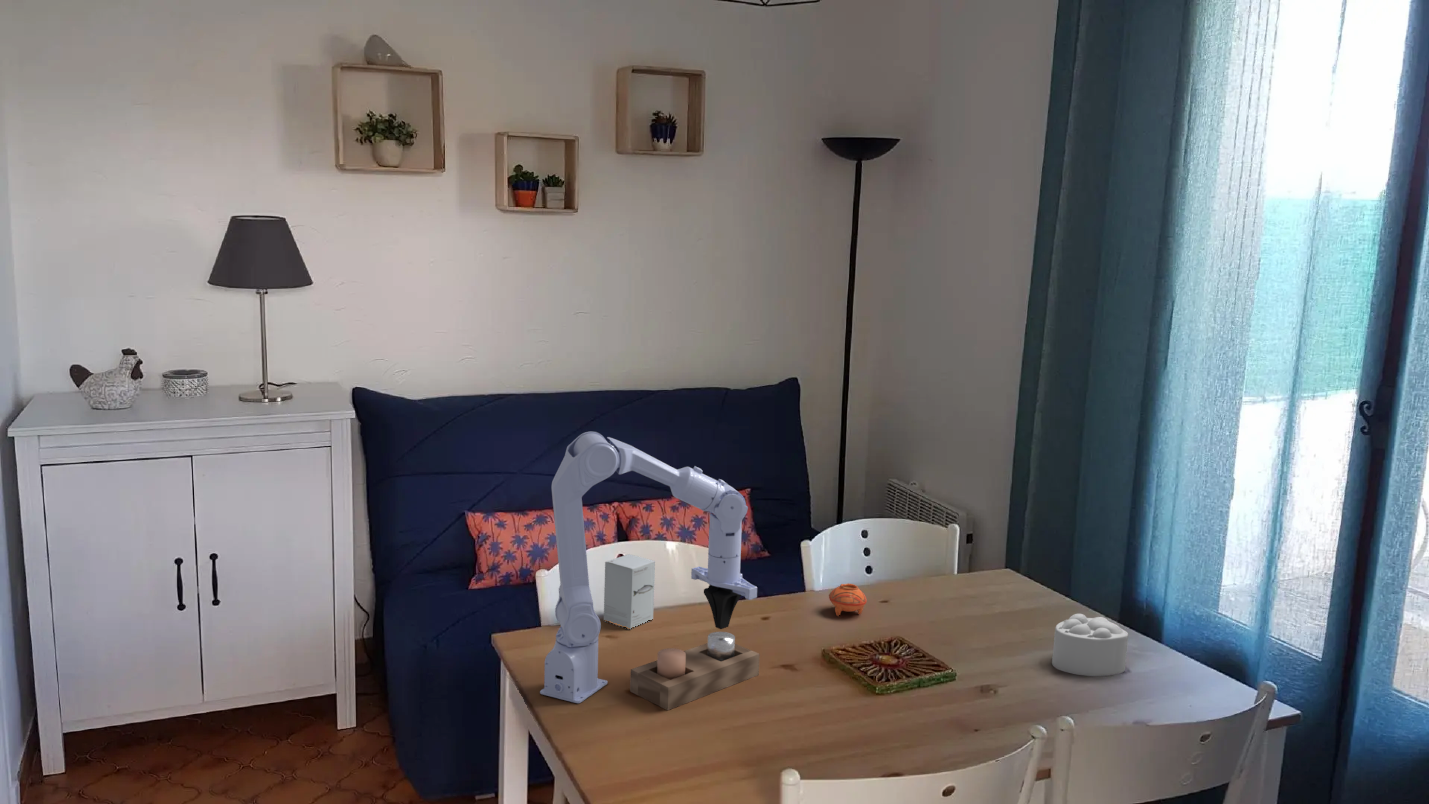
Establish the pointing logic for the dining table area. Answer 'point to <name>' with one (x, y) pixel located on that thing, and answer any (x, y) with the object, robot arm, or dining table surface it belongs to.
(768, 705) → the dining table surface
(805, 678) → the dining table surface
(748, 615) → the dining table surface
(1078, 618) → the lumpy-topped squat cylinder
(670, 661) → the near peg
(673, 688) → the wooden peg holder
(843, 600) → the pot
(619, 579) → the supplement box
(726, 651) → the far peg
